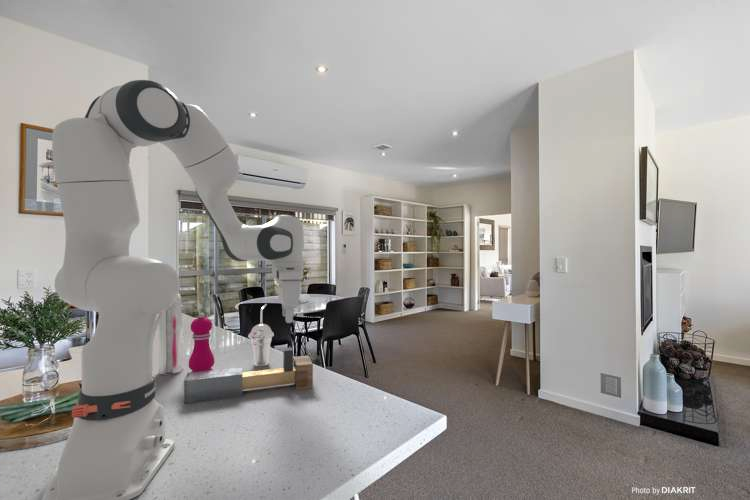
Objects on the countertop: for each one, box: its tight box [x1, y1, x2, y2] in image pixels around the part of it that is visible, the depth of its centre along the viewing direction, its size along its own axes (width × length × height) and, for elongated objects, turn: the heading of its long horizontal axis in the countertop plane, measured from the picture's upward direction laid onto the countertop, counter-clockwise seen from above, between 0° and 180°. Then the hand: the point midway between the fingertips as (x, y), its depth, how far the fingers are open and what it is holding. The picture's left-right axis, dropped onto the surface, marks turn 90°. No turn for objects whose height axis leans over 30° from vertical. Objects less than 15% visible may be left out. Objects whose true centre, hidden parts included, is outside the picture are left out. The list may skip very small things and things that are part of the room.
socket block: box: [293, 355, 314, 391], centre depth 104 cm, size 8×4×7 cm, turn 20°
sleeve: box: [183, 366, 243, 405], centre depth 96 cm, size 6×14×6 cm, turn 110°
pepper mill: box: [188, 312, 215, 372], centre depth 109 cm, size 7×7×20 cm
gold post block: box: [242, 346, 296, 391], centre depth 101 cm, size 4×20×10 cm, turn 110°
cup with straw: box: [247, 303, 275, 367], centre depth 121 cm, size 8×9×20 cm
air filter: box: [157, 293, 183, 376], centre depth 113 cm, size 6×6×25 cm
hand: (287, 319), depth 102 cm, fingers open, 8 cm apart
